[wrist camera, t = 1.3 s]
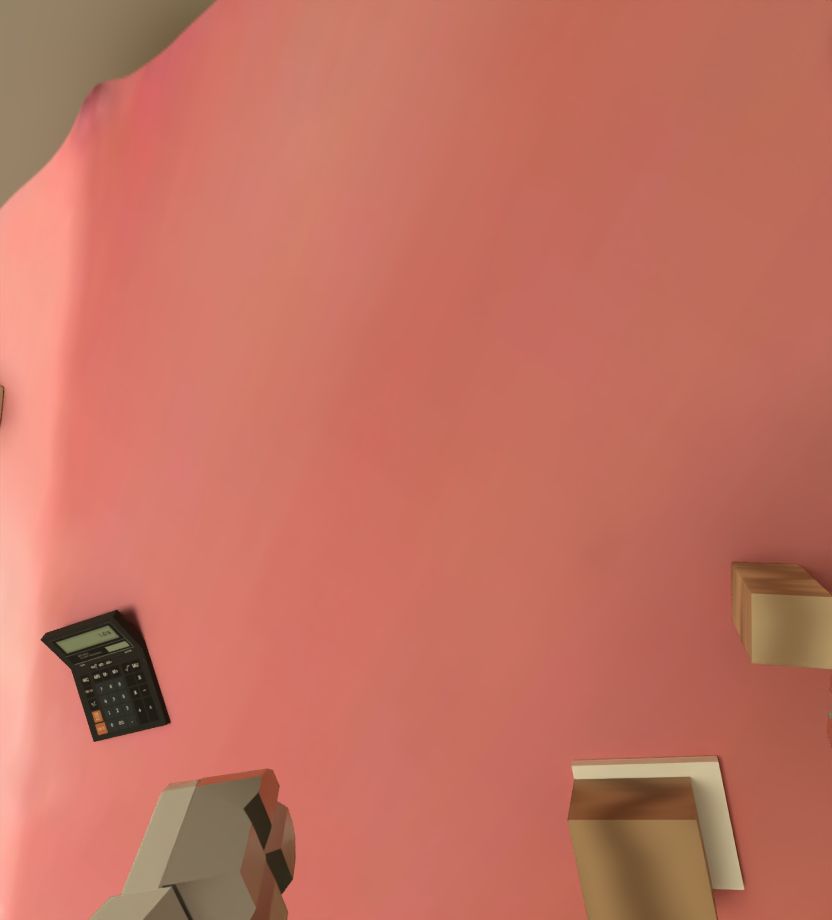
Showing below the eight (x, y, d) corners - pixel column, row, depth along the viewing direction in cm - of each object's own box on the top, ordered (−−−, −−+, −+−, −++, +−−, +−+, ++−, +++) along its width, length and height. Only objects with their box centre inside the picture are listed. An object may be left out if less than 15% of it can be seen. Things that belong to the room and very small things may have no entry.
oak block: (798, 564, 42) (834, 597, 35) (798, 623, 42) (833, 669, 35) (731, 561, 43) (751, 593, 36) (731, 619, 44) (751, 663, 36)
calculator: (100, 737, 63) (75, 752, 61) (65, 625, 64) (39, 635, 61) (172, 720, 60) (150, 735, 58) (135, 602, 61) (111, 612, 58)
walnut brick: (690, 776, 44) (696, 819, 40) (712, 888, 45) (721, 945, 40) (574, 779, 47) (567, 820, 42) (595, 885, 47) (591, 937, 42)
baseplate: (716, 755, 45) (718, 761, 44) (742, 881, 45) (744, 889, 44) (572, 760, 48) (571, 765, 47) (596, 877, 48) (595, 885, 47)
